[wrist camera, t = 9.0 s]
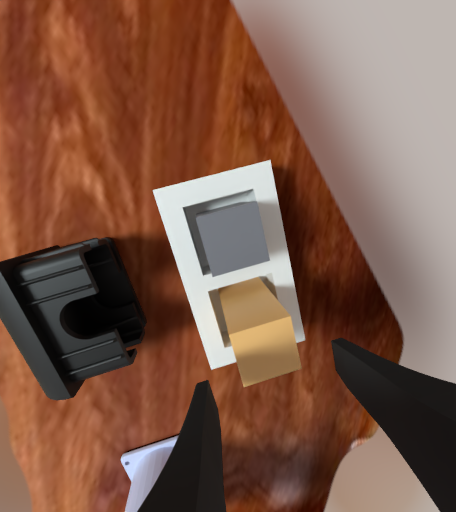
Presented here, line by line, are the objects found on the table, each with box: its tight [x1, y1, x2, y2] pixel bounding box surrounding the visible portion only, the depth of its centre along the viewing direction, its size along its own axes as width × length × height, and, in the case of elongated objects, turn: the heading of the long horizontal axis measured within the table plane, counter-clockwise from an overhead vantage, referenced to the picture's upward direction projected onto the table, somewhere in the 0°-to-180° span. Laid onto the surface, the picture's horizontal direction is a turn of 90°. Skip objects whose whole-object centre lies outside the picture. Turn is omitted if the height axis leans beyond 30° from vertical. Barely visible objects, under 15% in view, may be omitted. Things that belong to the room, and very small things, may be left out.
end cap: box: [0, 237, 147, 400], centre depth 17 cm, size 10×7×7 cm
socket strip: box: [153, 160, 305, 370], centre depth 19 cm, size 16×9×6 cm, turn 14°
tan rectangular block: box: [218, 277, 302, 387], centre depth 18 cm, size 4×4×8 cm
